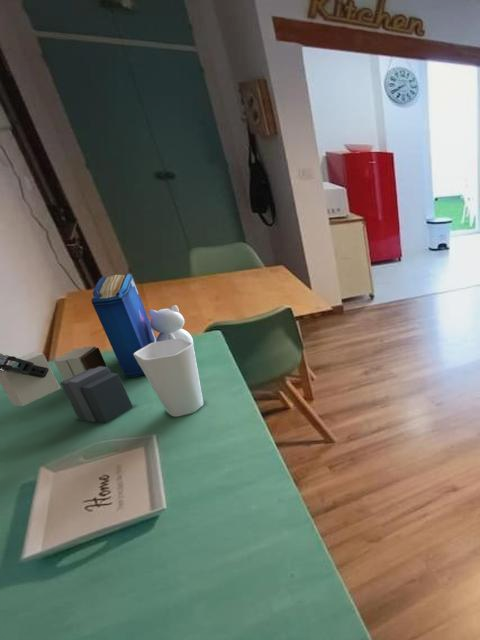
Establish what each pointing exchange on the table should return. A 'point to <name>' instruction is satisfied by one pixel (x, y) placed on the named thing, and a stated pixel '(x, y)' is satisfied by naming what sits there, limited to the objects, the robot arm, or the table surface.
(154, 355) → the cup
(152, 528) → the table surface
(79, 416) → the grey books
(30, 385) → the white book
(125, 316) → the book
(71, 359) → the grey brown block
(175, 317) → the cat figurine
